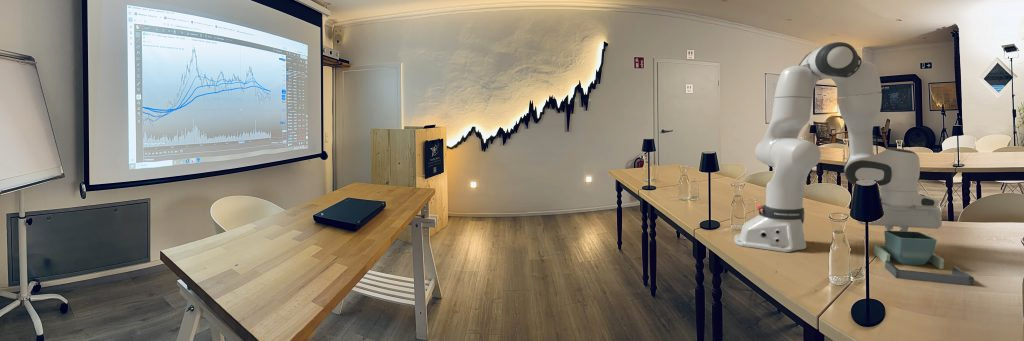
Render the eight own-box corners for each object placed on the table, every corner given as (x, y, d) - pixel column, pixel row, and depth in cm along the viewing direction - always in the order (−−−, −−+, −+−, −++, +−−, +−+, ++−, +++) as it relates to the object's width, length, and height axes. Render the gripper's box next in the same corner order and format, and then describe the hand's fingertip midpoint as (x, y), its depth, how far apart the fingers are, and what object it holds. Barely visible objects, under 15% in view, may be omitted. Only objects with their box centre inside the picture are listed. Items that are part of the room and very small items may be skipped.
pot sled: (886, 264, 120) (887, 245, 120) (871, 251, 132) (872, 233, 131) (943, 269, 115) (944, 249, 114) (922, 255, 126) (924, 237, 125)
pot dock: (896, 278, 111) (896, 270, 110) (884, 268, 118) (885, 260, 118) (972, 286, 104) (973, 277, 103) (955, 275, 111) (956, 266, 111)
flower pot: (916, 258, 124) (918, 231, 123) (935, 269, 116) (938, 239, 115) (881, 257, 127) (883, 230, 126) (898, 266, 119) (899, 238, 118)
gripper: (860, 198, 130) (858, 239, 131) (946, 201, 121) (942, 245, 122) (854, 195, 135) (852, 234, 137) (935, 197, 126) (932, 239, 128)
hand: (895, 239), depth 130 cm, fingers closed
